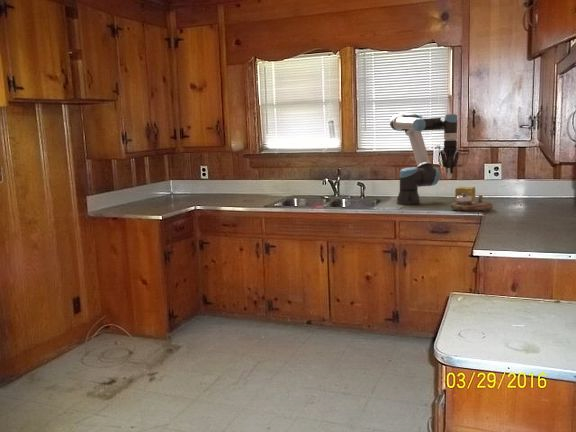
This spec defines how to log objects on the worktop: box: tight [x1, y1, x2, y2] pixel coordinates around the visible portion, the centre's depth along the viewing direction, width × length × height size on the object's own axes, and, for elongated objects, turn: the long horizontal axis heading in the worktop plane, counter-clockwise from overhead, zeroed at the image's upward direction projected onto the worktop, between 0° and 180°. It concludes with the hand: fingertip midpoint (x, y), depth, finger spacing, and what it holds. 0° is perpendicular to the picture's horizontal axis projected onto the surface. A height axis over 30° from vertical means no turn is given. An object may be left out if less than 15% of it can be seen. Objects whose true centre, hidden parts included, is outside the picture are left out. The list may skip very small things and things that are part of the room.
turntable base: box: [458, 209, 485, 213], centre depth 332 cm, size 14×14×2 cm
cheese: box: [454, 186, 476, 202], centre depth 360 cm, size 10×11×10 cm
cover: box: [456, 193, 472, 205], centre depth 334 cm, size 9×9×6 cm
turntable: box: [450, 194, 494, 211], centre depth 331 cm, size 24×24×6 cm
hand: (449, 178), depth 339 cm, fingers closed
